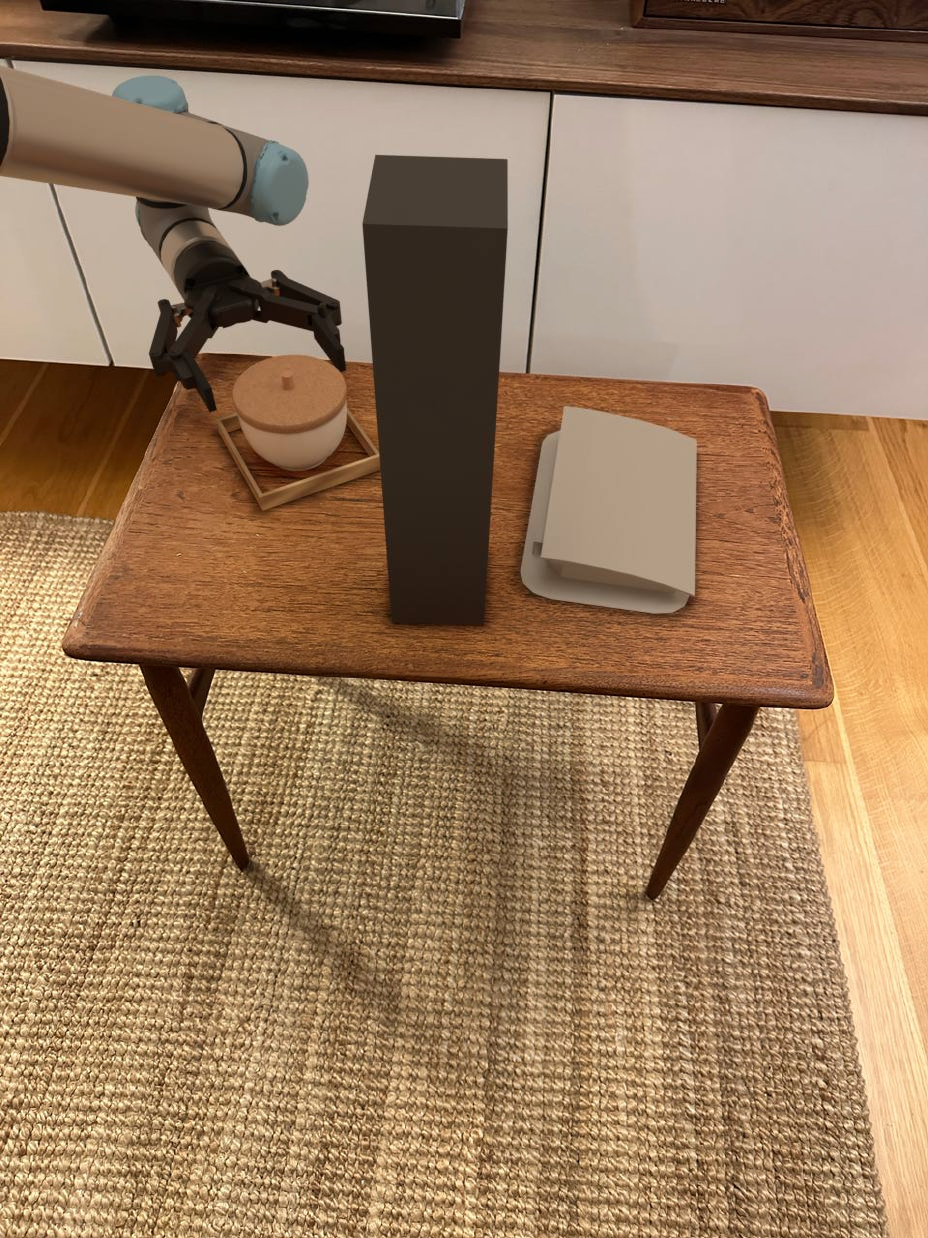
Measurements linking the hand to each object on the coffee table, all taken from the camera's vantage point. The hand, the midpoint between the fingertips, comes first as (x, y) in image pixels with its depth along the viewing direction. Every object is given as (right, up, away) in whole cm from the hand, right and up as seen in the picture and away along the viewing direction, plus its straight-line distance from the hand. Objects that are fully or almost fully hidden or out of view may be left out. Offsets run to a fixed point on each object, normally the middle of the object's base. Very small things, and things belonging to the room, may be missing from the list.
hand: (277, 380), depth 88 cm
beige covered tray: (+32, -13, -1) cm, 35 cm away
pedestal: (+16, -21, -8) cm, 27 cm away
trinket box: (+2, -6, +3) cm, 7 cm away
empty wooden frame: (+2, -6, +3) cm, 7 cm away
